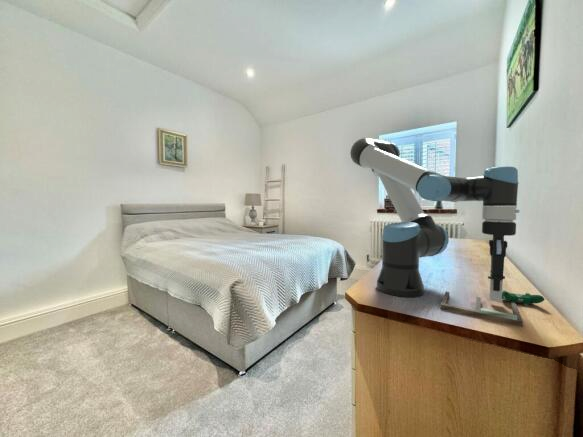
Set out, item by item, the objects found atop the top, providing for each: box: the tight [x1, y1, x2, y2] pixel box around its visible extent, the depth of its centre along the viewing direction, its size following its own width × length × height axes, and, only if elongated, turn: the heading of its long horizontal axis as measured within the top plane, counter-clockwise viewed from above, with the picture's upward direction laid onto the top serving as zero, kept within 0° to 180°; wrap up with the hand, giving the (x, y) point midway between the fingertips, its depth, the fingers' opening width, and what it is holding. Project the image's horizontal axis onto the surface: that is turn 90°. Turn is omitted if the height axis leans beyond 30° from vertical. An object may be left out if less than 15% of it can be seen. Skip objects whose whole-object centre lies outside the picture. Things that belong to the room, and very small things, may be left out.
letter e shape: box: [440, 291, 524, 327], centre depth 69 cm, size 17×14×2 cm
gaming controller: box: [502, 289, 545, 306], centre depth 73 cm, size 9×4×6 cm
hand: (495, 300), depth 72 cm, fingers closed
